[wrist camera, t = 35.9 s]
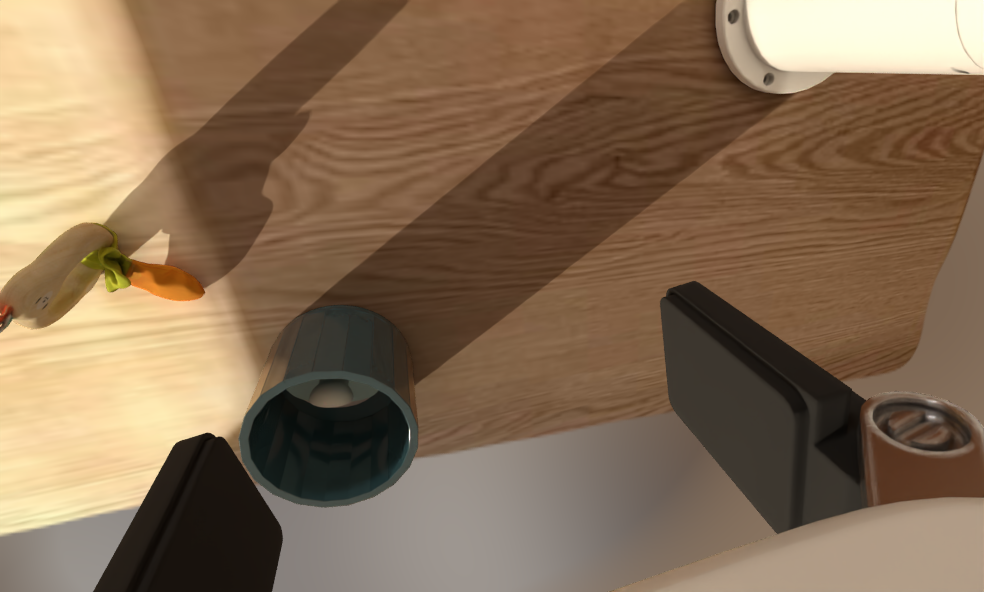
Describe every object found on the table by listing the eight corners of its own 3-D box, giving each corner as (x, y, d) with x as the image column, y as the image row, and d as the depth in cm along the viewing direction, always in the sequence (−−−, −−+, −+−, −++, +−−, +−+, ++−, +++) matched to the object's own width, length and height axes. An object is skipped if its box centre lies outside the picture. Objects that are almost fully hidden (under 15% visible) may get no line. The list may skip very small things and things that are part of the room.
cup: (386, 287, 39) (387, 348, 31) (427, 397, 44) (438, 476, 36) (245, 329, 38) (205, 404, 30) (303, 436, 43) (283, 527, 35)
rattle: (141, 345, 37) (49, 450, 27) (33, 266, 34) (-120, 354, 23) (214, 285, 37) (148, 370, 26) (112, 198, 33) (-11, 258, 23)
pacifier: (382, 401, 43) (383, 340, 40) (381, 454, 37) (383, 388, 35) (290, 403, 41) (286, 340, 38) (276, 458, 36) (270, 389, 33)
